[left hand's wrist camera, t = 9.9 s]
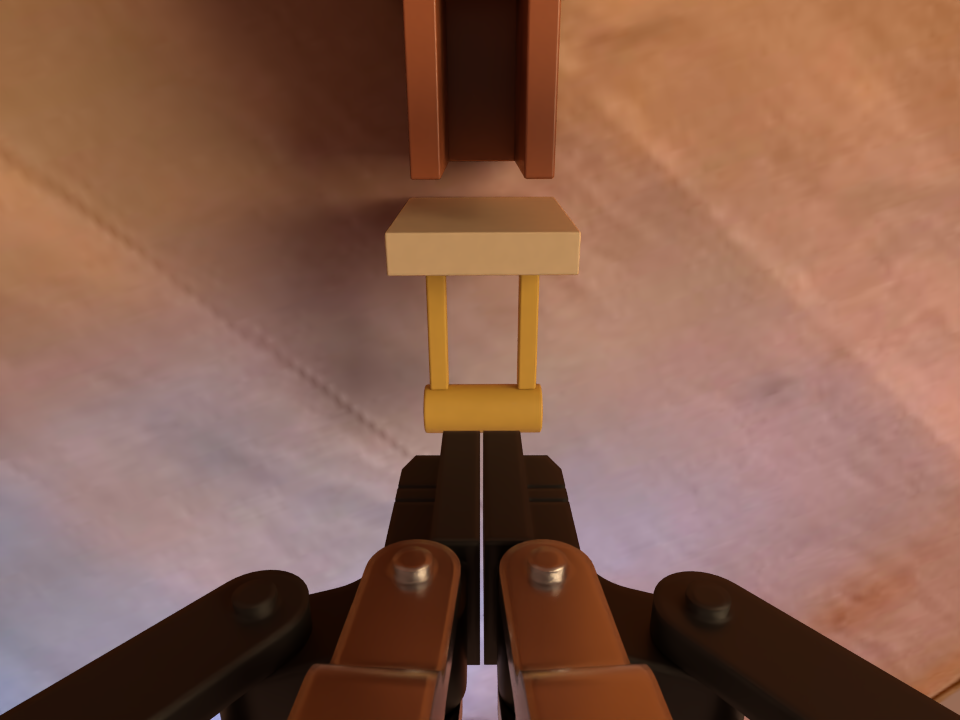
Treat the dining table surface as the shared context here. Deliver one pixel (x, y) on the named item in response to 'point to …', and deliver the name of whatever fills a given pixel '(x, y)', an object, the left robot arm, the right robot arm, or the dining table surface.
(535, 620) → the left robot arm
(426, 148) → the drawer
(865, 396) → the dining table surface
